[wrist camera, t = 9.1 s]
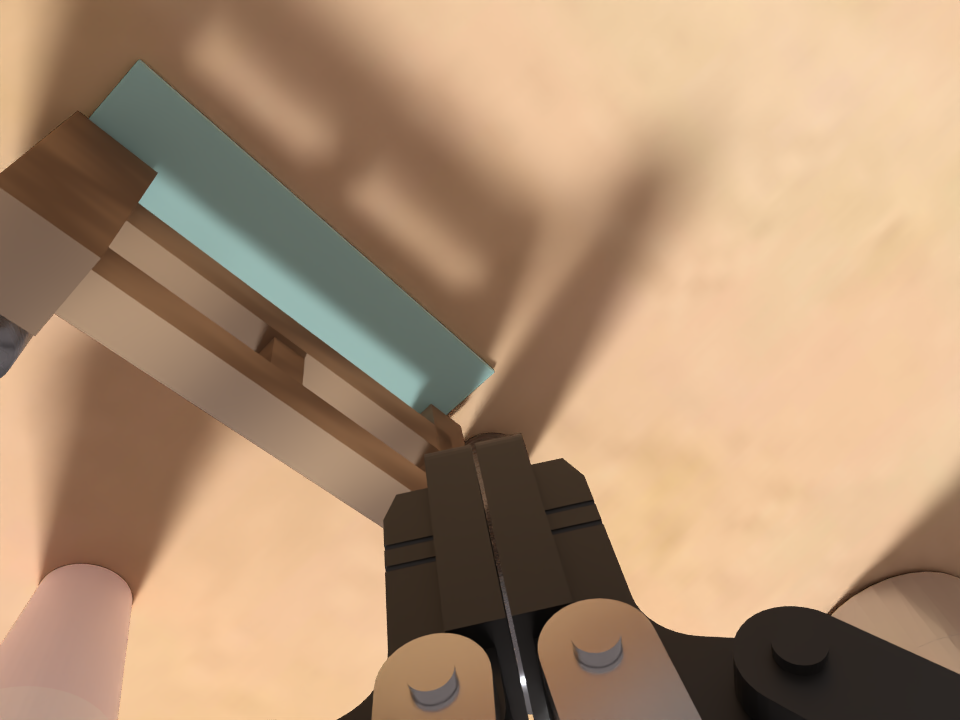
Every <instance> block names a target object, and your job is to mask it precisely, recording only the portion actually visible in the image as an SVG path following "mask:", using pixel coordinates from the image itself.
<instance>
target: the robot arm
mask: <svg viewBox="0 0 960 720" xmlns="http://www.w3.org/2000/svg"><path fill="white" fill-rule="evenodd" d="M475 447H476V452H477V456H478V461H479V466H480V470H481V475H482V480H483V484H484V489H485V494H486V499H487V503H488V508H489V513H490V517H491V522H492V527H493V531H494V536H495V541H496V545H497V550H498V555H499V559H500V564H501V569H502V573H503V578H504V583H505V587H506V592H507V597H508V601H509V606H510V611H511V615H512V620H513V625H514V629H515V634H516V639H517V643H518V648H519V653H520V657H521V662H522V667H523V671H524V676H525V680H526V685H527V690H528V694H529V699H530V704H531V708H532V713H533V718H534V720H960V579H959V578H958V577H955V576H952V575H949V574H945V573H939V572H917V573H908V574H904V575H900V576H896V577H893V578H889V579H887V580H884V581H882V582H879V583H877V584H875V585H872V586H870V587H868V588H867V589H865V590H863V591H861V592H860V593H858V594H856V595H855V596H853V597H852V598H850V599H849V600H848V601H847V602H845V603H844V604H843V605H841V606H840V607H839V608H838V609H837V610H836V611H835V612H834V613H833V614H832V615H828V614H826V613H823V612H820V611H818V610H814V609H810V608H804V607H796V606H784V607H776V608H771V609H767V610H764V611H762V612H759V613H757V614H755V615H754V616H752V617H751V618H749V619H748V620H747V621H746V622H745V623H744V624H743V625H742V626H741V627H740V629H739V630H738V632H737V633H736V636H735V638H724V637H705V636H693V635H686V634H682V633H678V632H675V631H672V630H669V629H666V628H664V627H662V626H660V625H658V624H657V623H655V622H654V621H652V620H651V619H649V618H648V617H647V616H646V615H645V614H644V613H643V612H642V611H641V610H640V609H639V608H638V606H637V605H636V604H635V602H634V600H633V598H632V596H631V593H630V591H629V588H628V585H627V583H626V580H625V578H624V575H623V573H622V570H621V568H620V565H619V563H618V560H617V558H616V555H615V553H614V550H613V548H612V545H611V542H610V540H609V537H608V535H607V532H606V530H605V527H604V525H603V524H602V521H601V517H600V515H599V512H598V510H597V507H596V504H594V499H593V497H592V494H591V492H590V489H589V487H588V484H587V482H586V479H585V477H584V475H583V474H581V473H580V472H579V471H578V470H576V469H575V468H574V467H573V466H571V465H570V464H569V463H568V462H567V461H565V460H564V459H563V458H561V459H556V460H551V461H547V462H542V463H538V464H533V465H531V464H530V460H529V457H528V454H527V451H526V447H525V444H524V441H523V438H522V435H521V433H519V434H515V435H510V436H505V437H501V438H496V439H492V440H487V441H482V442H478V443H475ZM424 461H425V470H426V478H427V487H428V488H424V489H420V490H415V491H411V492H406V493H401V494H397V495H396V496H395V498H394V500H393V502H392V504H391V506H390V508H389V510H388V512H387V514H386V516H385V518H384V520H383V528H384V547H385V551H384V555H385V569H386V572H385V582H386V609H387V636H388V659H387V660H386V662H385V663H384V664H383V666H382V667H381V669H380V671H379V672H378V675H377V678H376V680H375V686H374V690H373V691H372V693H371V694H370V695H369V696H368V697H367V698H366V699H365V700H364V701H363V702H362V703H361V704H360V705H359V706H357V707H356V708H355V709H354V710H352V711H351V712H349V713H348V714H346V715H344V716H343V717H341V718H339V719H337V720H529V718H528V713H527V709H526V704H525V699H524V694H523V689H522V685H521V680H520V675H519V670H518V665H517V660H516V656H515V651H514V646H513V641H512V636H511V632H510V627H509V622H508V617H507V612H506V607H505V603H504V598H503V593H502V588H501V583H500V579H499V574H498V569H497V564H496V559H495V555H494V550H493V545H492V540H491V536H490V531H489V527H488V522H487V517H486V513H485V508H484V504H483V499H482V494H481V490H480V485H479V481H478V476H477V472H476V467H475V462H474V458H473V453H472V449H471V444H470V445H465V446H460V447H456V448H451V449H447V450H442V451H437V452H433V453H428V454H424Z"/></svg>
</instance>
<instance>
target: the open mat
mask: <svg viewBox="0 0 960 720" xmlns="http://www.w3.org/2000/svg"><path fill="white" fill-rule="evenodd" d="M89 120H90V121H92V122H93V123H94V124H96V125H97V126H98V127H100V128H101V129H102V130H103V131H105V132H106V133H107V134H109V135H110V136H111V137H112V138H114V139H115V140H116V141H118V142H119V143H120V144H121V145H123V146H124V147H125V148H127V149H128V150H129V151H130V152H132V153H133V154H134V155H136V156H137V157H138V158H139V159H141V160H142V161H143V162H145V163H146V164H147V165H148V166H150V167H151V168H152V169H154V170H155V171H156V172H158V174H157V175H156V177H155V178H154V180H153V181H152V183H151V184H150V186H149V187H148V189H147V190H146V192H145V193H144V195H143V196H142V198H141V199H140V201H139V202H138V203H139V204H141V205H142V206H143V207H145V208H146V209H147V210H149V211H150V212H151V213H153V214H154V215H155V216H157V217H158V218H159V219H161V220H162V221H163V222H165V223H166V224H167V225H169V226H170V227H171V228H173V229H174V230H175V231H177V232H178V233H179V234H181V235H182V236H183V237H185V238H186V239H187V240H189V241H190V242H191V243H193V244H194V245H195V246H197V247H198V248H199V249H201V250H202V251H203V252H205V253H206V254H207V255H209V256H210V257H211V258H213V259H214V260H215V261H217V262H218V263H219V264H221V265H222V266H223V267H225V268H226V269H227V270H229V271H230V272H231V273H233V274H234V275H235V276H237V277H238V278H239V279H241V280H242V281H243V282H245V283H246V284H247V285H249V286H250V287H251V288H253V289H254V290H255V291H257V292H258V293H259V294H261V295H262V296H263V297H265V298H266V299H267V300H269V301H270V302H271V303H273V304H274V305H275V306H277V307H278V308H279V309H281V310H282V311H283V312H285V313H286V314H287V315H289V316H290V317H291V318H293V319H294V320H295V321H297V322H298V323H299V324H301V325H302V326H303V327H305V328H306V329H307V330H309V331H310V332H311V333H313V334H314V335H315V336H317V337H318V338H319V339H321V340H322V341H323V342H325V343H326V344H327V345H329V346H330V347H331V348H333V349H334V350H335V351H337V352H338V353H339V354H341V355H342V356H343V357H345V358H346V359H347V360H349V361H350V362H351V363H353V364H354V365H355V366H357V367H358V368H359V369H361V370H362V371H363V372H365V373H366V374H367V375H369V376H370V377H371V378H373V379H374V380H375V381H377V382H378V383H379V384H381V385H382V386H383V387H385V388H386V389H387V390H389V391H390V392H391V393H393V394H394V395H395V396H397V397H398V398H399V399H401V400H402V401H403V402H405V403H406V404H407V405H409V406H410V407H411V408H413V409H414V410H415V411H417V412H418V413H419V414H421V413H422V412H423V411H424V410H425V409H426V408H427V407H428V406H429V405H430V404H432V405H434V406H435V407H436V408H438V409H439V410H440V411H442V412H443V413H444V414H445V415H447V414H448V413H449V412H450V411H451V410H453V409H454V408H455V407H456V406H457V405H458V404H459V403H460V402H462V401H463V400H464V399H465V398H466V397H467V396H468V395H469V394H471V393H472V392H473V391H474V390H475V389H476V388H477V387H478V386H480V385H481V384H482V383H483V382H484V381H485V380H486V379H488V378H489V377H490V376H491V375H492V374H493V373H494V369H493V368H491V367H490V366H489V365H488V364H487V363H486V362H485V361H483V360H482V359H481V358H480V357H479V356H478V355H477V354H475V353H474V352H473V351H472V350H471V349H470V348H469V347H467V346H466V345H465V344H464V343H463V342H462V341H461V340H459V339H458V338H457V337H456V336H455V335H454V334H453V333H451V332H450V331H449V330H448V329H447V328H446V327H445V326H444V325H442V324H441V323H440V322H439V321H438V320H437V319H436V318H434V317H433V316H432V315H431V314H430V313H429V312H428V311H426V310H425V309H424V308H423V307H422V306H421V305H420V304H418V303H417V302H416V301H415V300H414V299H413V298H412V297H410V296H409V295H408V294H407V293H406V292H405V291H404V290H402V289H401V288H400V287H399V286H398V285H397V284H396V283H394V282H393V281H392V280H391V279H390V278H389V277H388V276H387V275H385V274H384V273H383V272H382V271H381V270H380V269H379V268H377V267H376V266H375V265H374V264H373V263H372V262H371V261H369V260H368V259H367V258H366V257H365V256H364V255H363V254H361V253H360V252H359V251H358V250H357V249H356V248H355V247H353V246H352V245H351V244H350V243H349V242H348V241H347V240H345V239H344V238H343V237H342V236H341V235H340V234H339V233H338V232H336V231H335V230H334V229H333V228H332V227H331V226H330V225H328V224H327V223H326V222H325V221H324V220H323V219H322V218H320V217H319V216H318V215H317V214H316V213H315V212H314V211H312V210H311V209H310V208H309V207H308V206H307V205H306V204H304V203H303V202H302V201H301V200H300V199H299V198H298V197H296V196H295V195H294V194H293V193H292V192H291V191H290V190H288V189H287V188H286V187H285V186H284V185H283V184H282V183H281V182H279V181H278V180H277V179H276V178H275V177H274V176H273V175H271V174H270V173H269V172H268V171H267V170H266V169H265V168H263V167H262V166H261V165H260V164H259V163H258V162H257V161H255V160H254V159H253V158H252V157H251V156H250V155H249V154H247V153H246V152H245V151H244V150H243V149H242V148H241V147H239V146H238V145H237V144H236V143H235V142H234V141H233V140H231V139H230V138H229V137H228V136H227V135H226V134H225V133H224V132H222V131H221V130H220V129H219V128H218V127H217V126H216V125H214V124H213V123H212V122H211V121H210V120H209V119H208V118H206V117H205V116H204V115H203V114H202V113H201V112H200V111H198V110H197V109H196V108H195V107H194V106H193V105H192V104H190V103H189V102H188V101H187V100H186V99H185V98H184V97H182V96H181V95H180V94H179V93H178V92H177V91H176V90H175V89H173V88H172V87H171V86H170V85H169V84H168V83H167V82H165V81H164V80H163V79H162V78H161V77H160V76H159V75H157V74H156V73H155V72H154V71H153V70H152V69H151V68H149V67H148V66H147V65H146V64H145V63H144V62H143V61H141V60H140V59H139V60H138V61H137V62H136V63H135V65H134V66H133V67H132V68H131V69H130V71H129V72H128V73H127V74H126V75H125V76H124V78H123V79H122V80H121V81H120V82H119V83H118V85H117V86H116V87H115V88H114V89H113V91H112V92H111V93H110V94H109V95H108V96H107V98H106V99H105V100H104V101H103V102H102V103H101V105H100V106H99V107H98V108H97V109H96V110H95V112H94V113H93V114H92V115H91V116H90V118H89Z"/></svg>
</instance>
